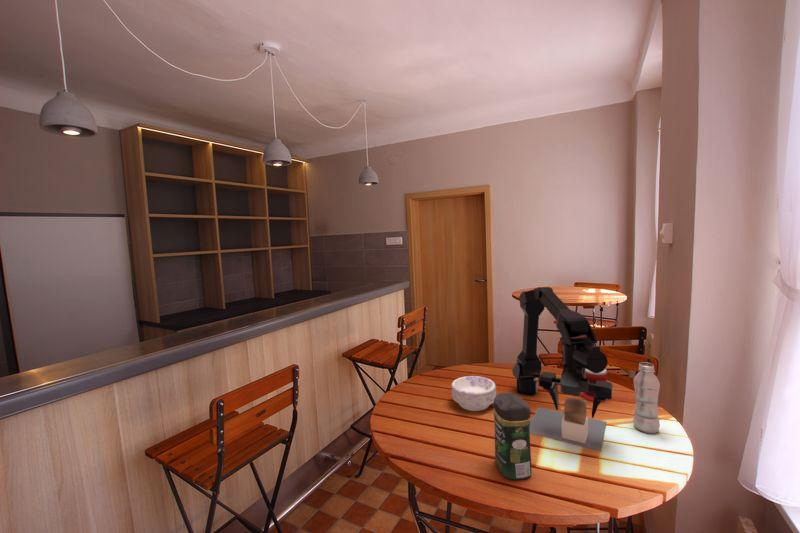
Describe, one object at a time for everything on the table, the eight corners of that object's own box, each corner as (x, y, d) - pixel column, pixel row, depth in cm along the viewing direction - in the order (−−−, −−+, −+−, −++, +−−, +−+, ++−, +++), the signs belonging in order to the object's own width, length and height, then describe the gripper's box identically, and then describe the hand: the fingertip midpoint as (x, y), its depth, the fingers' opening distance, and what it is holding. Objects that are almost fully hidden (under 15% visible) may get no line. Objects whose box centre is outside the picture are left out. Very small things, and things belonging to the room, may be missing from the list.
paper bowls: (447, 412, 121) (446, 389, 121) (457, 394, 135) (457, 373, 135) (493, 418, 116) (492, 395, 115) (498, 399, 130) (498, 377, 129)
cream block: (561, 437, 102) (561, 420, 102) (565, 428, 107) (565, 412, 106) (585, 443, 98) (585, 426, 98) (588, 433, 103) (587, 416, 103)
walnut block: (564, 420, 102) (564, 403, 101) (567, 413, 106) (567, 396, 105) (583, 425, 99) (583, 407, 98) (586, 417, 103) (586, 400, 103)
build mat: (524, 433, 106) (524, 431, 106) (538, 408, 121) (538, 407, 121) (601, 453, 95) (601, 451, 95) (606, 423, 109) (606, 421, 109)
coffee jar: (491, 458, 95) (489, 390, 93) (520, 456, 95) (518, 388, 94) (504, 483, 85) (502, 407, 84) (536, 480, 85) (535, 405, 84)
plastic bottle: (655, 426, 107) (655, 361, 105) (663, 438, 100) (664, 369, 99) (630, 423, 109) (630, 359, 108) (636, 435, 102) (637, 367, 101)
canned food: (600, 394, 130) (600, 364, 129) (611, 404, 122) (611, 372, 121) (578, 394, 131) (578, 365, 130) (588, 404, 123) (587, 373, 122)
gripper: (532, 363, 100) (533, 417, 101) (609, 375, 89) (610, 435, 90) (542, 352, 109) (543, 402, 110) (613, 362, 98) (613, 416, 99)
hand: (574, 413), depth 102 cm, fingers open, 9 cm apart
